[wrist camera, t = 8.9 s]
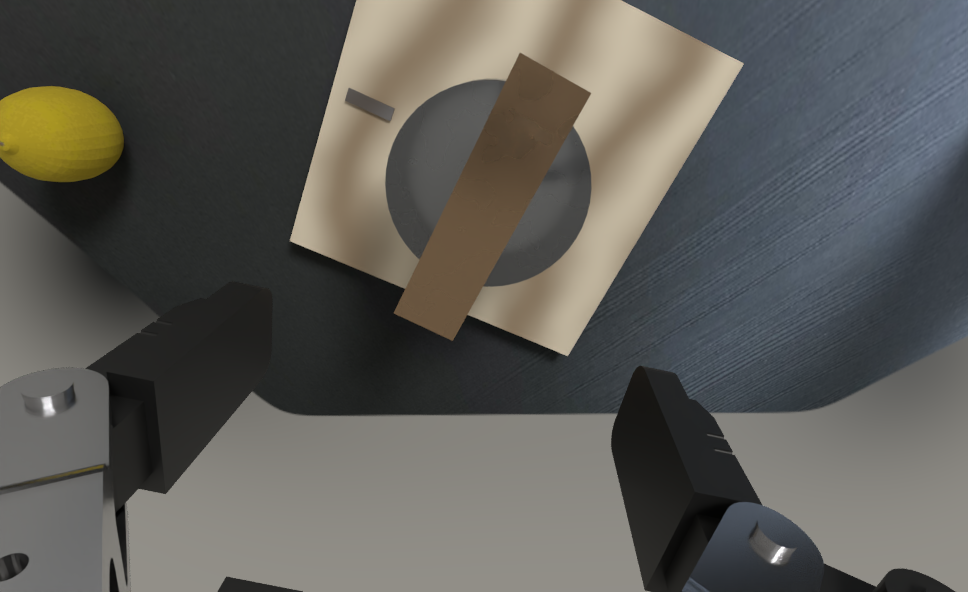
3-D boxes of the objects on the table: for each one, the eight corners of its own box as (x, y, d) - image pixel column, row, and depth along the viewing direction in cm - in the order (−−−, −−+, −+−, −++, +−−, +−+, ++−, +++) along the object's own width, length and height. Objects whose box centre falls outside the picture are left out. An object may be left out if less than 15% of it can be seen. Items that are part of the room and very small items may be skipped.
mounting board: (733, 63, 30) (745, 63, 29) (565, 346, 39) (567, 357, 38) (395, -110, 28) (388, -121, 26) (298, 234, 37) (288, 241, 35)
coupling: (465, 27, 29) (432, 2, 18) (612, 111, 30) (670, 138, 19) (383, 217, 34) (315, 294, 23) (512, 282, 35) (510, 384, 24)
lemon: (154, 103, 33) (54, 114, 26) (146, 180, 36) (52, 209, 28) (70, 70, 33) (-56, 71, 26) (68, 150, 35) (-49, 172, 28)
